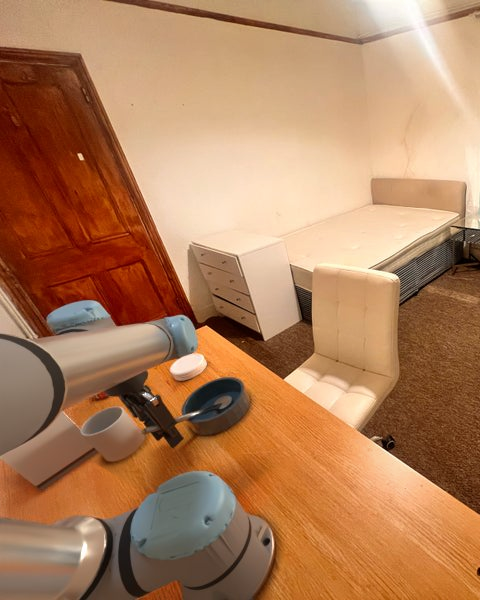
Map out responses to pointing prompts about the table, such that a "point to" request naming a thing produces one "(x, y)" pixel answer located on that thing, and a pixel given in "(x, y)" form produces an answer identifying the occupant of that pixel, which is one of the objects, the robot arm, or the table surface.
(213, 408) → the spoon
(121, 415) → the mug
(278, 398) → the table surface
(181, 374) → the white round lid
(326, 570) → the table surface
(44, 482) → the white upright box
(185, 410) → the bowl
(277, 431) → the table surface
